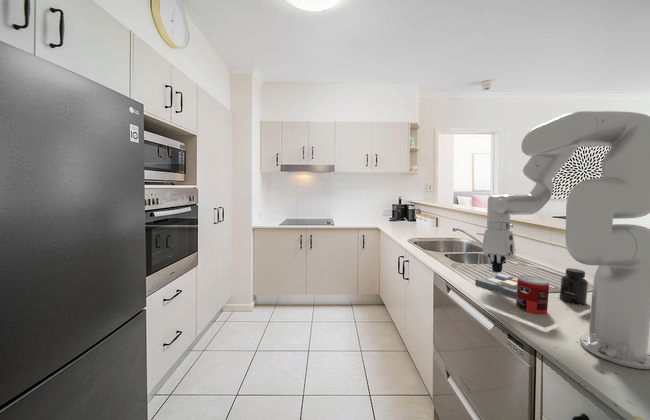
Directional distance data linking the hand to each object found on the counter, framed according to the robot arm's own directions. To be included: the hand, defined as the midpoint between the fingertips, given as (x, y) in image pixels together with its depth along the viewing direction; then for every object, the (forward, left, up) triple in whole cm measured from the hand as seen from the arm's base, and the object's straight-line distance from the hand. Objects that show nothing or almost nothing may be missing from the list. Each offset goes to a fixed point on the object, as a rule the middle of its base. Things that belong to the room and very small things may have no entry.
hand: (497, 271), depth 105 cm
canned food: (-10, -17, -7) cm, 21 cm away
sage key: (0, +1, -6) cm, 6 cm away
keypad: (+3, -2, -7) cm, 8 cm away
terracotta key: (+6, -5, -5) cm, 9 cm away
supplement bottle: (+10, -20, -7) cm, 24 cm away
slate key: (+6, +1, -5) cm, 8 cm away
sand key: (0, -5, -5) cm, 7 cm away
